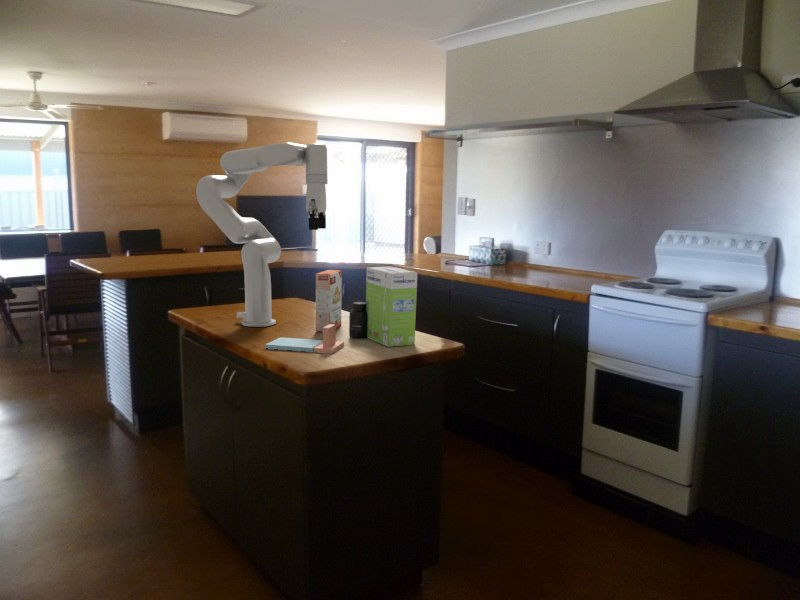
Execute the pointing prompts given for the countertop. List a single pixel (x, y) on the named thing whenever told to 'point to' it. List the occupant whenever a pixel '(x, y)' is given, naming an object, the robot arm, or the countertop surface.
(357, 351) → the countertop surface
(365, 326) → the supplement bottle
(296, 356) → the countertop surface
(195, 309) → the countertop surface
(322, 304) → the cracker box
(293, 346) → the light blue flat slab
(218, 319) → the countertop surface
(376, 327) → the toothbrush box
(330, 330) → the stub
